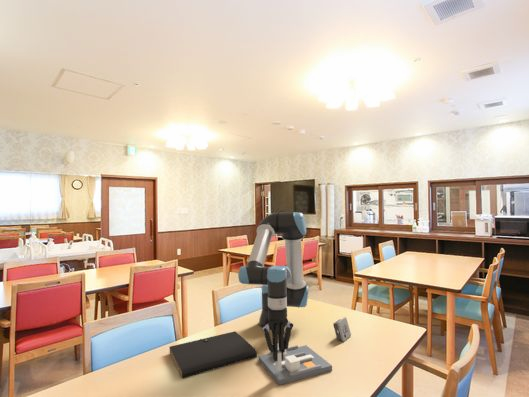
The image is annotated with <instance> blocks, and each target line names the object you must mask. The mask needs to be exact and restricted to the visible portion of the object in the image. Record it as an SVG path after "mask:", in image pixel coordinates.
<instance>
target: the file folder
mask: <svg viewBox="0 0 529 397" xmlns="http://www.w3.org/2000/svg"><path fill="white" fill-rule="evenodd" d="M169 353H170V354H169V356H170V355H171V356H170V357H172V358H171V359H173V360H172V361H174V362H173V363H174V365H175V367H176V370H177V371H178V373H179V375H180V376H181V379H185V378H188V377H192V376H195V375H199V374H203V373H205V372H209V371H212V370H217V369H220V368H222V367H226V366H229V365H233V364H236V363H240V362H243V361H247V360H250V359H253V358H256V357H258V352H257V350H256V348H255V346H252V345H251V343H249V342H248V341H247V340H246V339H245V338H243V337H242V335H241V334H239V333H238V332H237V331H236V330H235V331H231V332H226V333H222V334H217V335H212V336H209V337H204V338H200V339H196V340H193V341H188V342H184V343H180V344H179V343H178V344H175V345H171V346H169Z"/></svg>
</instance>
